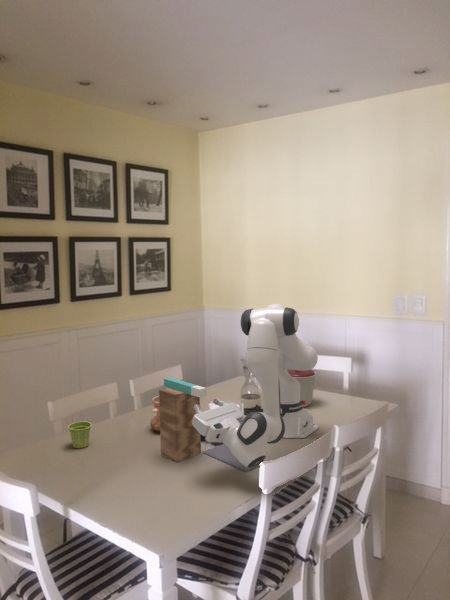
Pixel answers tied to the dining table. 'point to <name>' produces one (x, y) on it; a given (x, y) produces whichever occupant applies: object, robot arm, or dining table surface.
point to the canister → (305, 384)
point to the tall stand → (178, 425)
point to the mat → (227, 457)
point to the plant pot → (80, 433)
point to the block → (185, 387)
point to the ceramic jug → (156, 420)
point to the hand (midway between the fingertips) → (205, 402)
